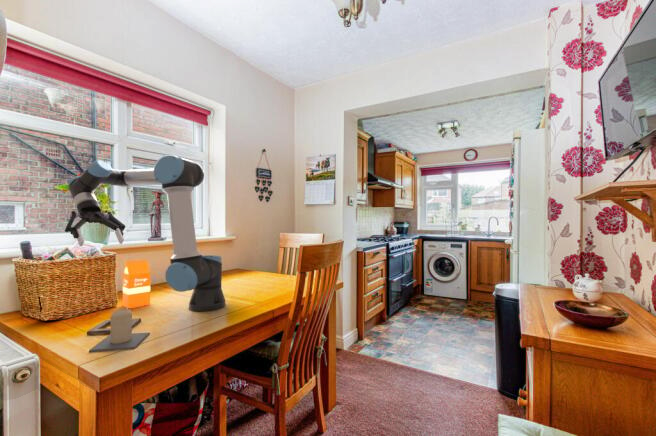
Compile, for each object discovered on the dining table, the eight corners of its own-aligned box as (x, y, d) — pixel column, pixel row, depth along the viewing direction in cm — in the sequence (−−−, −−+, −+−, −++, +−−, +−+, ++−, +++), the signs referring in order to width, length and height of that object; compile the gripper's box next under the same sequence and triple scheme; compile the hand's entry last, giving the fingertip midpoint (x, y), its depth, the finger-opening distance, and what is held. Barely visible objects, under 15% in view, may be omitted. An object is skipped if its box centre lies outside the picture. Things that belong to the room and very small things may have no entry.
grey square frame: (141, 321, 115) (141, 318, 115) (127, 332, 104) (127, 329, 104) (105, 323, 113) (105, 319, 113) (87, 335, 101) (87, 331, 101)
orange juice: (150, 304, 138) (150, 260, 139) (128, 308, 132) (128, 262, 132) (144, 301, 143) (144, 259, 144) (122, 305, 137) (122, 260, 137)
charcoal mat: (149, 334, 102) (149, 332, 102) (134, 348, 90) (134, 346, 90) (109, 336, 100) (109, 334, 100) (88, 352, 88) (89, 350, 88)
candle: (108, 345, 91) (108, 312, 92) (113, 338, 97) (113, 307, 97) (129, 342, 94) (129, 310, 94) (133, 336, 99) (133, 305, 99)
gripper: (117, 212, 140) (133, 246, 132) (46, 211, 119) (60, 251, 111) (123, 200, 137) (139, 235, 129) (51, 197, 116) (65, 237, 108)
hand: (103, 242), depth 120 cm, fingers open, 13 cm apart
